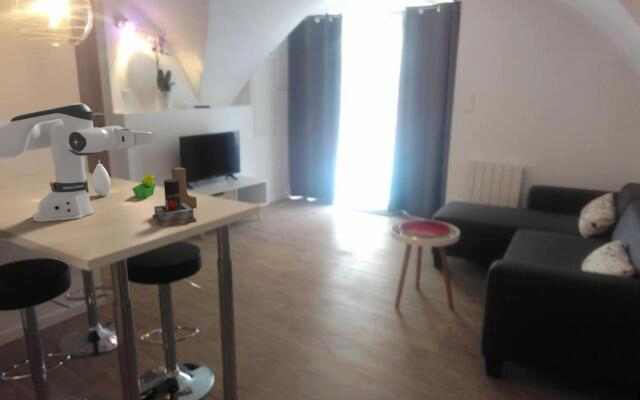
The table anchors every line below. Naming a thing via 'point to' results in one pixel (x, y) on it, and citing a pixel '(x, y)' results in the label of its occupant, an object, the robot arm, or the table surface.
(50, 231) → the table surface
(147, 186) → the fruit basket
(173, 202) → the deodorant
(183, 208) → the grey shallow box
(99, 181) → the white teardrop ornament
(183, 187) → the wooden block
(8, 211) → the table surface
